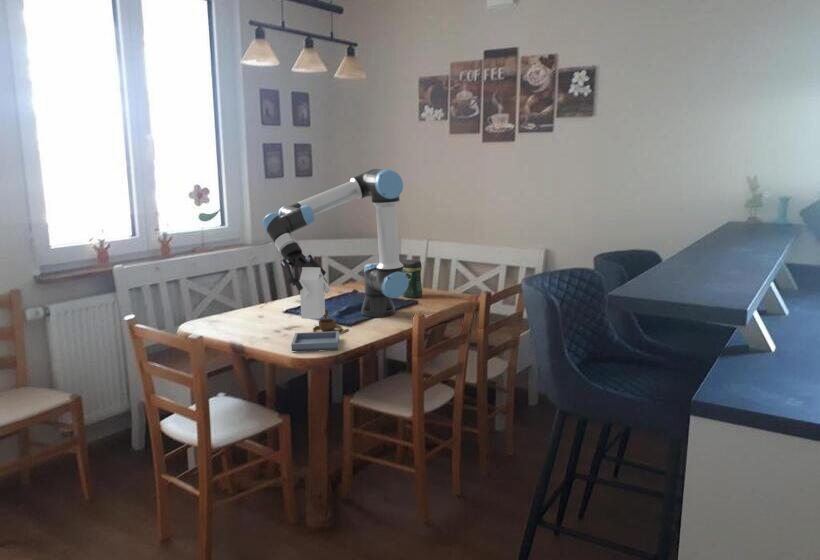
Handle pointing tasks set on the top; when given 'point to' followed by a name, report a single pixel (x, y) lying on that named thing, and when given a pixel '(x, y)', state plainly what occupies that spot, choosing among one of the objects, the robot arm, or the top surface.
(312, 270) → the milk carton
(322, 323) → the brown toy crab
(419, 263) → the coffee jar
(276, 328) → the top surface
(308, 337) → the tray
